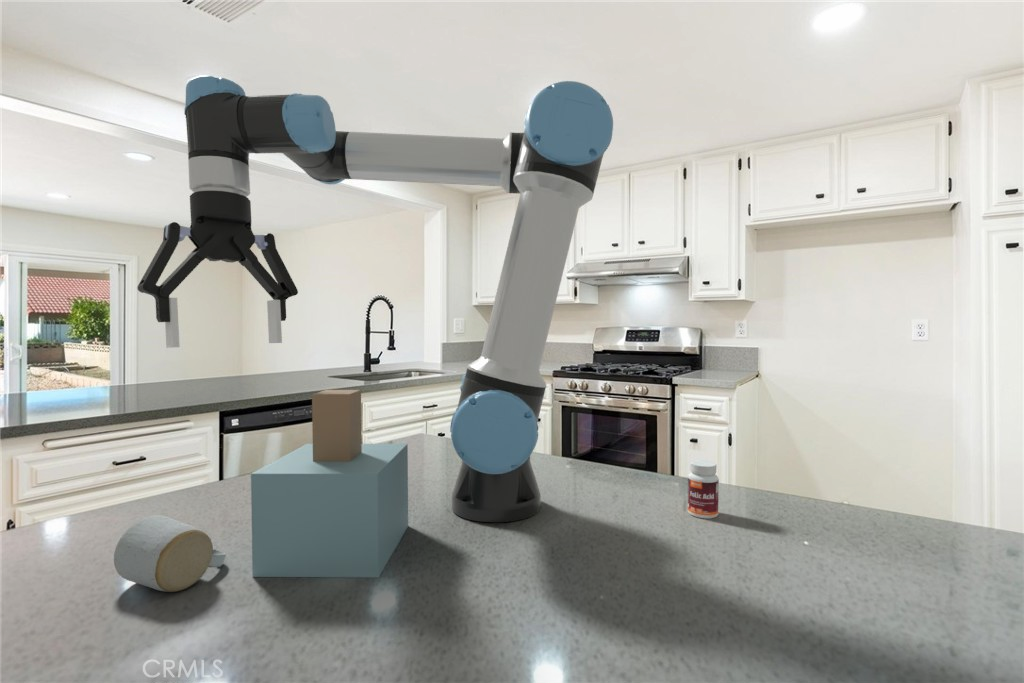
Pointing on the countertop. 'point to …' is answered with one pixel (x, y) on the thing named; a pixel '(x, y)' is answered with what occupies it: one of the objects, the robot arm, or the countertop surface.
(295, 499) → the pale blue storage box
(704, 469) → the pill bottle
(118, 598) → the countertop surface
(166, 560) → the ceramic mug
